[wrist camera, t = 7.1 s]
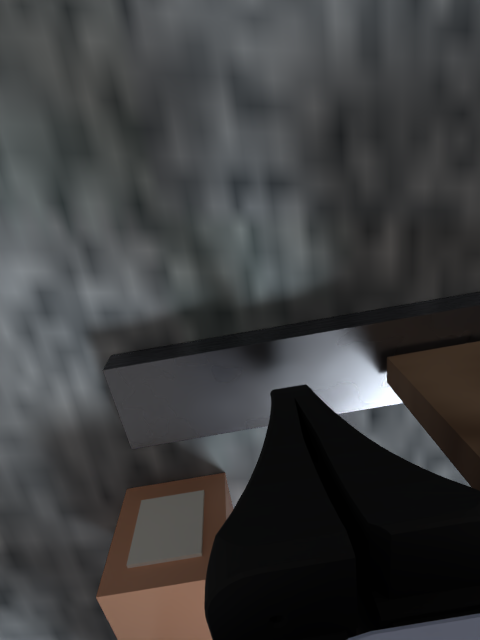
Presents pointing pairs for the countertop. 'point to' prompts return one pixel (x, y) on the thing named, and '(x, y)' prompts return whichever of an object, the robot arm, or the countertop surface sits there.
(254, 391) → the rail
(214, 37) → the countertop surface
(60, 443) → the countertop surface
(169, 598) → the cube
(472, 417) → the panel
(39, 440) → the countertop surface
